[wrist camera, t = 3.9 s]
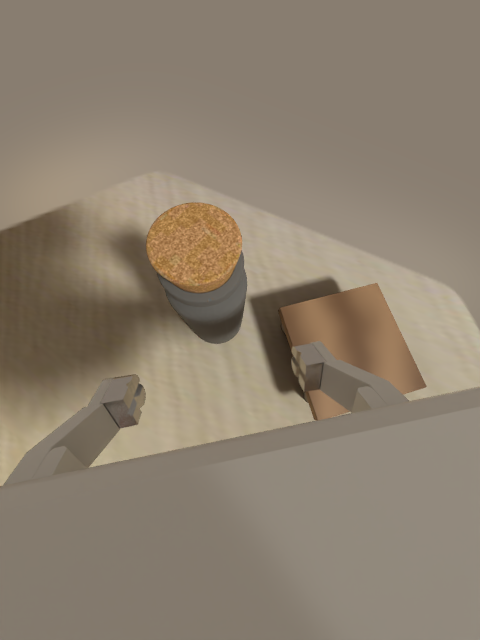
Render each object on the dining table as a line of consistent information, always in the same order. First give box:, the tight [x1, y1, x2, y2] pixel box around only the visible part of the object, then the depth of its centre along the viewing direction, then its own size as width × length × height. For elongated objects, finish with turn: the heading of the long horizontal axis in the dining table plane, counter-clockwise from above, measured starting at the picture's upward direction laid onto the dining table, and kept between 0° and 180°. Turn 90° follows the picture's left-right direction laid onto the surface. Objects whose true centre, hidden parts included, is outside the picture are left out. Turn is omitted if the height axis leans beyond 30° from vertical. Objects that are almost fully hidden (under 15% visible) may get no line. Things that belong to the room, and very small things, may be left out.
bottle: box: [146, 203, 247, 344], centre depth 17 cm, size 6×6×15 cm
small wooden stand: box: [278, 283, 426, 420], centre depth 22 cm, size 11×11×4 cm
